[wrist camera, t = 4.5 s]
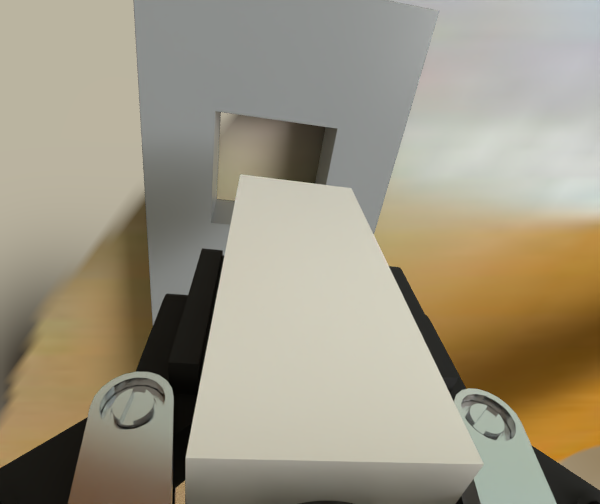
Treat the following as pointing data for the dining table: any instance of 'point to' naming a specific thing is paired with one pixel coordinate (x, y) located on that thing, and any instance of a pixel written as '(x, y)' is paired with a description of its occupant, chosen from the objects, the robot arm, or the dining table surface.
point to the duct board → (266, 104)
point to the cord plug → (318, 367)
